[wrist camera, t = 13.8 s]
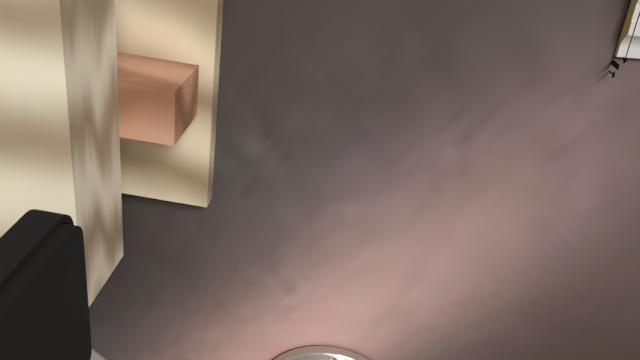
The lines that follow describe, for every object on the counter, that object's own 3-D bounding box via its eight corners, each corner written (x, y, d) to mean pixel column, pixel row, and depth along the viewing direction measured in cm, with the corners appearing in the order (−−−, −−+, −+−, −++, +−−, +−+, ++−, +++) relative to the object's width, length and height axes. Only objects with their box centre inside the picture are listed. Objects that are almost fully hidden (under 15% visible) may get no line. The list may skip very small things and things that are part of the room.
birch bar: (123, 255, 39) (83, 315, 34) (58, 244, 40) (8, 302, 34) (112, -101, 29) (52, -94, 24) (23, -116, 29) (-57, -111, 24)
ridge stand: (211, 197, 44) (186, 246, 39) (44, 169, 44) (-5, 213, 39) (226, -54, 36) (196, -38, 30) (18, -88, 36) (-51, -78, 30)
